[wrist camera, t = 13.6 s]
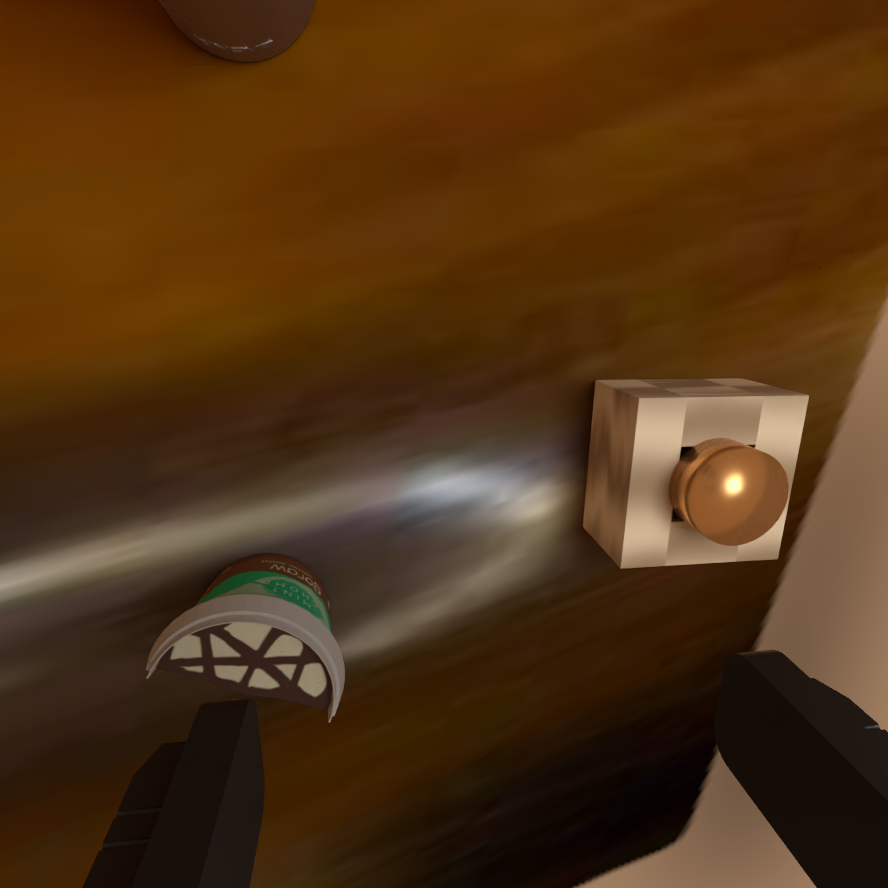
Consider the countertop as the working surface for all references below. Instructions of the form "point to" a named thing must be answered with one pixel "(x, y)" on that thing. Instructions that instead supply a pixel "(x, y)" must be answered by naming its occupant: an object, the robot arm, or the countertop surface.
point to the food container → (259, 634)
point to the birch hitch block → (657, 453)
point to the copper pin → (728, 490)
